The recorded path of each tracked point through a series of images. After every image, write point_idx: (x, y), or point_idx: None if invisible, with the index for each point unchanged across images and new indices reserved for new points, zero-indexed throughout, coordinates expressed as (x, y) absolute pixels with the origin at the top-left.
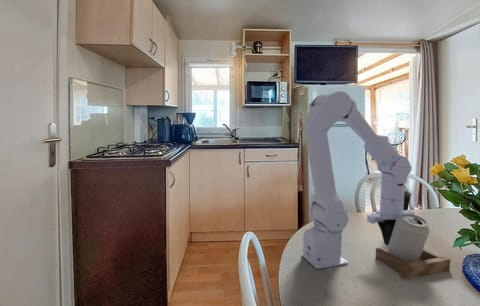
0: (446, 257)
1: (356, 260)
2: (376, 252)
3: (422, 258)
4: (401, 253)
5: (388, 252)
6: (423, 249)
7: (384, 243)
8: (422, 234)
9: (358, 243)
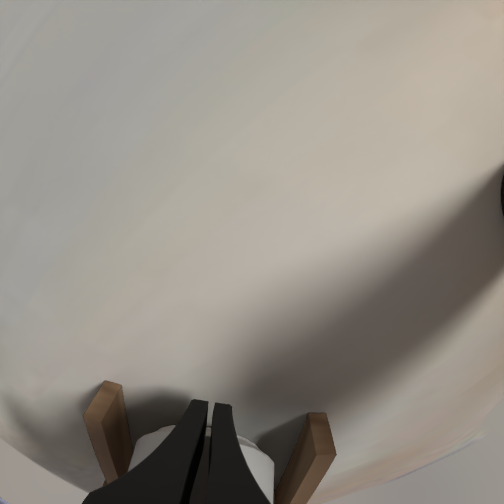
0: None
1: (27, 343)
2: (91, 405)
3: (290, 469)
4: None
5: (137, 442)
6: (303, 496)
7: (190, 403)
8: None
9: (148, 205)
